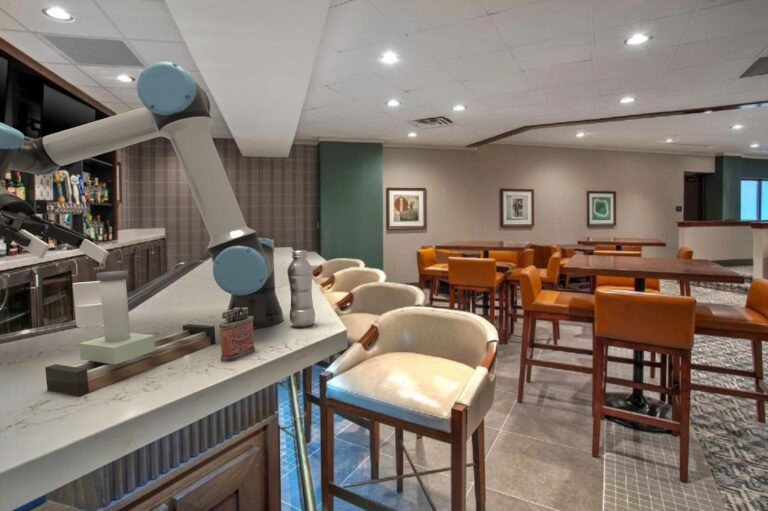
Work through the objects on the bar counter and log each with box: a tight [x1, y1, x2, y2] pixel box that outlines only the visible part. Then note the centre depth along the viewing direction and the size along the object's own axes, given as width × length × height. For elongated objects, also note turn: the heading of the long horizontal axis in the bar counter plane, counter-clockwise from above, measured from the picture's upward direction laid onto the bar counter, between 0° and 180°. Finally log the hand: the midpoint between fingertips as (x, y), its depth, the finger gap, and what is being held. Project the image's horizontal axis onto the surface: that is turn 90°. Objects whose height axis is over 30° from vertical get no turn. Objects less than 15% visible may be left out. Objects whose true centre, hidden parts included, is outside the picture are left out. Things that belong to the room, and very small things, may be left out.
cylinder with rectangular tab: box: [72, 280, 103, 329], centre depth 117 cm, size 9×9×12 cm
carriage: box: [79, 270, 156, 364], centre depth 76 cm, size 8×9×16 cm
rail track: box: [44, 323, 216, 397], centre depth 82 cm, size 30×8×4 cm, turn 159°
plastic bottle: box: [286, 249, 316, 328], centre depth 108 cm, size 6×7×20 cm
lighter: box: [218, 307, 256, 363], centre depth 85 cm, size 8×3×10 cm, turn 152°
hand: (77, 255), depth 83 cm, fingers open, 13 cm apart
